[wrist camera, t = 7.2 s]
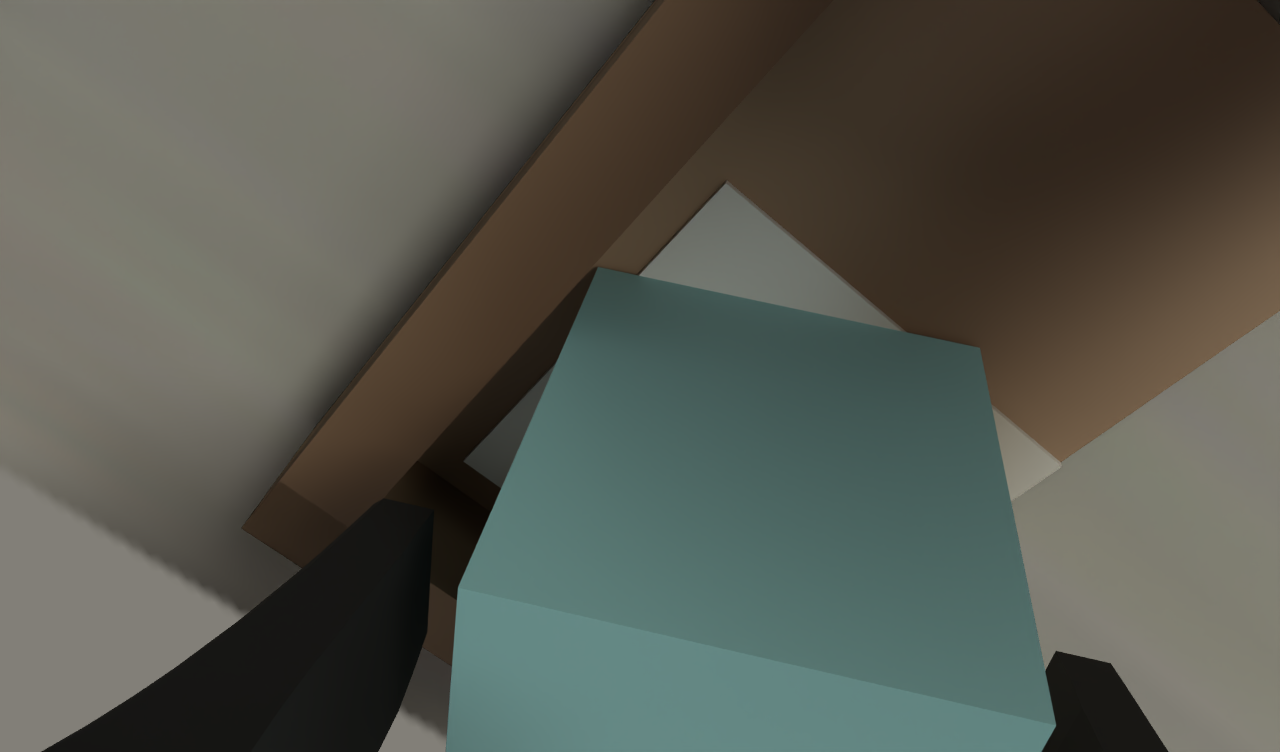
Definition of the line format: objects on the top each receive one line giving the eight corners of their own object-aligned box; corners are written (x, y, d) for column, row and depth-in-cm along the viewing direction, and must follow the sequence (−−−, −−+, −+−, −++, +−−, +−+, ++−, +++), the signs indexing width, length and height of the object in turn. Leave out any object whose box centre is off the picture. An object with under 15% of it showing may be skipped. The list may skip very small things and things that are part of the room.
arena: (312, 430, 17) (241, 528, 15) (927, -342, 10) (947, -350, 8) (694, 695, 19) (676, 813, 17) (1423, 180, 12) (1536, 274, 10)
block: (557, 547, 17) (432, 913, 12) (598, 266, 14) (457, 588, 9) (878, 620, 16) (891, 1027, 11) (984, 348, 14) (1062, 728, 9)
